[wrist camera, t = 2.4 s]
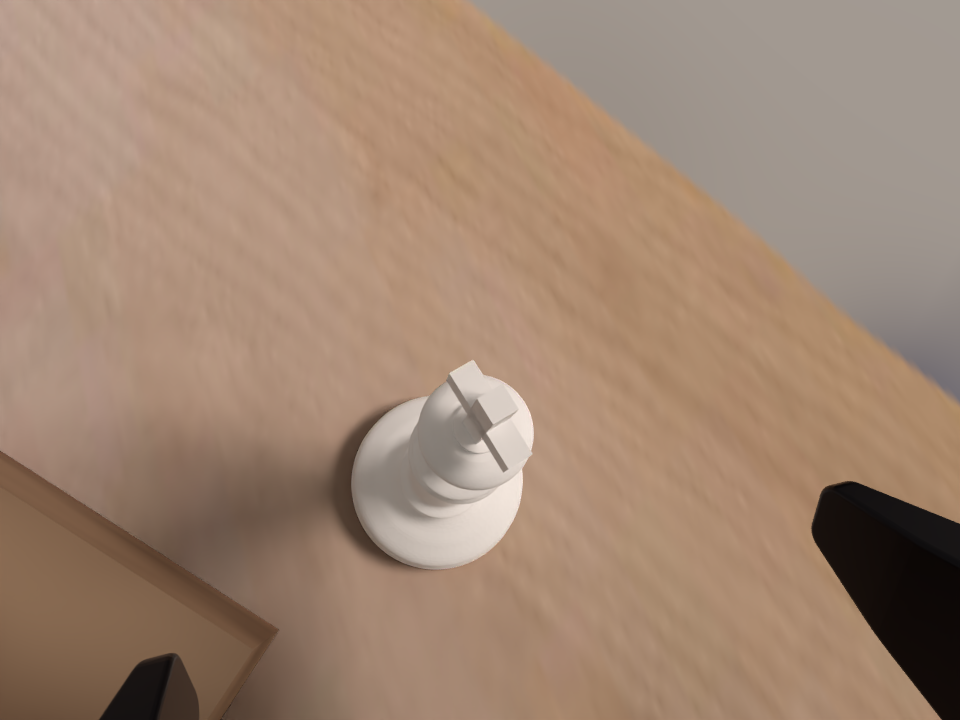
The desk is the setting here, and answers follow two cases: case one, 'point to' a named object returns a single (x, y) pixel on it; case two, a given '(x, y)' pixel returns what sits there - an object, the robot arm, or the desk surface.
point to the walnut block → (103, 610)
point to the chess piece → (444, 471)
